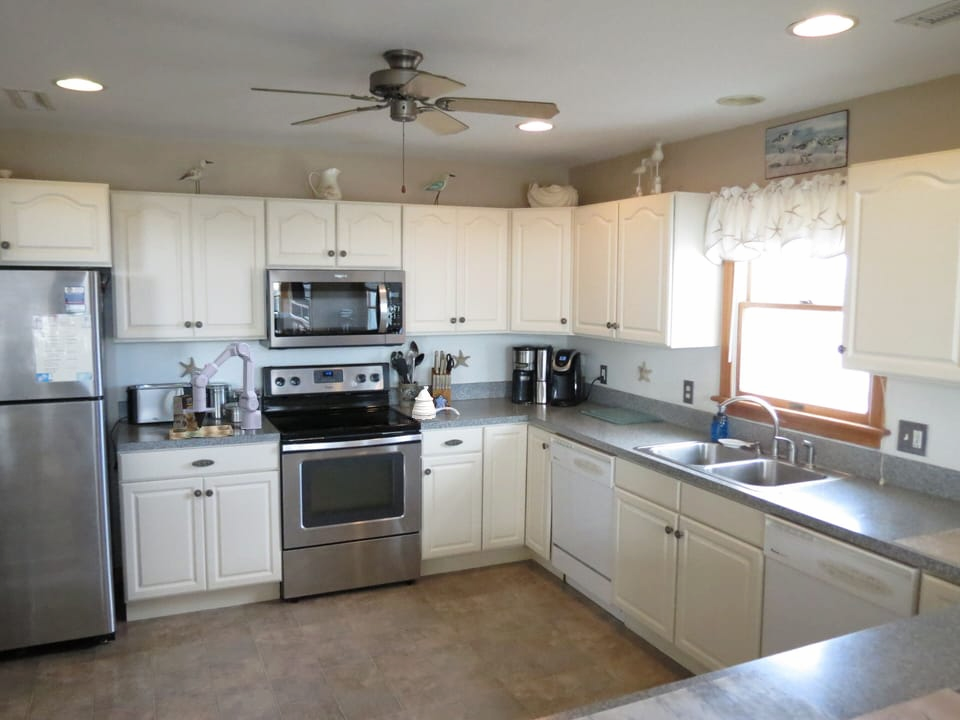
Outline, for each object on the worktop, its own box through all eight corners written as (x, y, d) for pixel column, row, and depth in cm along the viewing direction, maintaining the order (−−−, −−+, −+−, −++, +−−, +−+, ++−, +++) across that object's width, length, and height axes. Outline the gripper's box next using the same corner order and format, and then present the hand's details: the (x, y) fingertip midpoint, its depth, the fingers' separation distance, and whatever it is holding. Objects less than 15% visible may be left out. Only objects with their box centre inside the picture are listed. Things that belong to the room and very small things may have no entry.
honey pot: (419, 416, 411) (419, 384, 409) (439, 418, 405) (440, 386, 403) (407, 420, 399) (408, 387, 397) (428, 422, 394) (428, 389, 392)
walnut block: (196, 428, 355) (196, 420, 354) (197, 430, 351) (196, 422, 350) (186, 429, 353) (186, 421, 353) (186, 431, 349) (186, 423, 348)
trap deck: (230, 430, 366) (230, 425, 365) (233, 435, 353) (233, 430, 353) (169, 433, 355) (169, 428, 354) (169, 439, 342) (169, 434, 342)
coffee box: (184, 429, 365) (184, 397, 363) (173, 428, 366) (172, 396, 365) (195, 425, 374) (194, 394, 372) (184, 425, 375) (183, 393, 373)
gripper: (183, 401, 345) (183, 430, 347) (216, 400, 351) (216, 428, 352) (182, 399, 352) (183, 427, 353) (215, 398, 357) (215, 425, 359)
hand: (200, 427), depth 353 cm, fingers closed
